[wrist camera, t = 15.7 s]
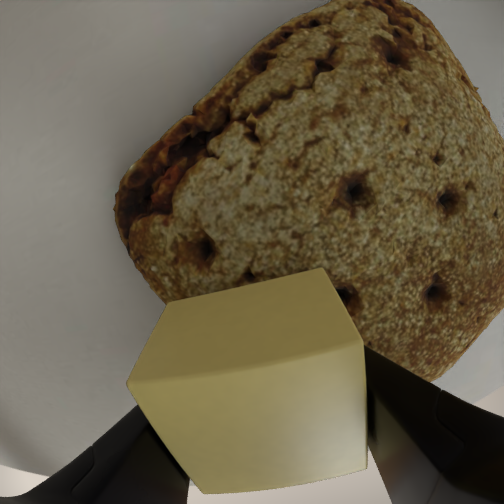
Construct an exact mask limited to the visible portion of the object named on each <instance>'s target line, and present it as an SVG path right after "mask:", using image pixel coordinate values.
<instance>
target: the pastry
mask: <svg viewBox="0 0 504 504" xmlns="http://www.w3.org/2000/svg"><path fill="white" fill-rule="evenodd" d="M478 89H479V88H477V87H474V86H473V84H472V83H471V81H470V79H469V77H468V75H467V74H466V72H465V70H464V69H463V67H462V65H461V63H460V62H459V60H458V59H457V58H456V57H455V55H454V54H453V52H452V51H451V49H450V47H449V46H448V44H447V43H446V41H445V40H444V38H443V37H442V35H441V34H440V33H439V31H438V30H437V29H436V28H435V26H434V25H433V23H432V21H431V20H430V19H428V18H427V17H426V16H425V15H424V14H423V13H422V12H421V11H420V10H418V9H417V8H416V7H415V6H413V5H412V4H409V3H406V2H404V1H401V0H332V1H330V2H329V3H327V4H325V5H323V6H321V7H319V8H315V9H314V10H312V11H311V12H309V13H304V14H301V15H299V16H297V17H295V18H292V19H291V20H290V21H288V22H287V23H285V24H284V25H282V26H280V27H279V28H277V29H276V30H274V31H273V32H272V33H270V34H269V35H267V36H266V37H265V38H263V39H262V40H261V41H259V42H258V43H257V44H256V45H255V46H254V47H253V48H252V49H251V50H250V51H249V52H248V53H247V54H246V55H244V56H243V57H242V58H241V59H240V60H239V61H238V62H237V64H236V65H235V66H234V67H233V68H232V69H231V70H230V71H229V72H228V73H227V75H226V76H225V77H224V78H223V79H221V80H220V81H219V82H218V83H217V84H216V85H215V86H214V87H213V88H212V89H211V91H210V92H209V93H208V94H207V95H205V96H204V97H203V98H202V99H201V100H199V101H198V102H197V103H196V104H195V105H194V106H193V113H192V115H187V116H184V117H183V118H182V119H180V120H179V121H178V122H177V123H176V124H174V125H173V126H172V127H171V128H170V129H169V130H168V131H167V132H166V133H165V134H164V135H163V136H162V137H161V138H160V140H159V141H157V142H156V143H155V144H153V145H152V146H151V147H150V148H149V149H147V150H146V151H145V152H144V154H143V155H142V157H141V158H140V159H139V160H138V161H136V162H135V163H134V164H133V165H131V167H130V168H129V170H128V171H127V172H126V174H125V175H124V177H123V178H122V180H121V181H120V185H119V191H118V192H117V193H116V194H115V199H116V204H115V206H114V208H113V210H114V211H115V222H116V225H117V228H118V231H119V234H120V237H121V240H122V242H123V243H124V245H125V246H126V248H127V251H128V254H129V256H130V258H131V259H132V260H133V262H134V264H135V267H136V268H137V269H138V270H139V271H140V272H141V273H142V275H143V277H144V279H145V280H146V281H147V282H148V283H149V285H150V288H151V289H152V290H153V291H154V292H155V293H156V294H157V295H158V296H159V297H160V299H161V300H162V301H163V302H164V303H165V304H166V305H167V304H168V303H169V302H172V301H177V300H182V299H187V298H191V297H196V296H201V295H205V294H210V293H214V292H219V291H223V290H228V289H232V288H237V287H241V286H245V285H250V284H254V283H258V282H263V281H267V280H271V279H276V278H280V277H284V276H288V275H292V274H297V273H301V272H305V271H309V270H313V269H317V268H323V269H324V270H325V272H326V274H327V276H328V277H329V279H330V281H331V283H332V284H333V286H334V288H335V290H336V292H337V293H338V295H339V297H340V299H341V301H342V302H343V304H344V306H345V308H346V310H347V312H348V313H349V315H350V317H351V319H352V321H353V323H354V324H355V326H356V328H357V330H358V332H359V334H360V336H361V338H362V340H363V344H364V345H365V346H367V347H369V348H371V349H372V350H374V351H376V352H377V353H379V354H381V355H383V356H384V357H386V358H388V359H390V360H391V361H393V362H395V363H397V364H398V365H400V366H402V367H404V368H405V369H407V370H409V371H411V372H412V373H414V374H416V375H418V376H419V377H421V378H423V379H425V380H426V381H428V382H431V381H433V380H436V379H437V378H439V377H441V376H442V375H443V374H444V373H445V372H446V371H447V370H449V369H450V368H451V367H452V366H453V365H454V364H455V363H456V362H457V360H458V359H459V358H460V357H461V356H462V355H463V354H464V353H465V352H466V350H467V349H468V348H469V347H470V346H471V345H472V343H473V342H474V341H475V340H476V339H477V338H478V336H479V335H480V334H481V333H482V332H483V330H484V329H486V328H487V327H488V325H489V324H490V322H491V321H492V320H493V319H494V318H495V317H496V316H497V315H498V314H499V313H500V311H501V310H502V309H503V308H504V140H503V138H502V137H501V136H500V134H499V133H498V130H497V127H496V125H495V124H494V123H493V122H492V119H491V117H490V112H489V111H488V110H487V108H486V107H485V106H484V105H483V104H482V103H481V102H482V99H481V97H480V96H479V94H478V93H477V91H476V90H478Z"/></svg>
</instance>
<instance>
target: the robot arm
mask: <svg viewBox="0 0 504 504" xmlns="http://www.w3.org/2000/svg"><path fill="white" fill-rule="evenodd" d="M364 356H365V371H366V390H367V422H368V446H369V448H370V451H371V453H372V456H373V458H374V460H375V463H376V465H377V467H378V470H379V472H380V475H381V477H382V480H383V482H384V484H385V487H386V489H387V492H388V494H389V497H390V499H391V502H392V504H504V417H502V416H499V415H496V414H493V413H491V412H488V411H486V410H483V409H481V408H479V407H476V406H474V405H472V404H469V403H467V402H465V401H463V400H461V399H460V398H458V397H456V396H454V395H452V394H450V393H448V392H446V391H445V390H441V388H439V387H437V386H435V385H434V384H432V383H430V382H428V381H426V380H425V379H423V378H421V377H419V376H418V375H416V374H414V373H412V372H411V371H409V370H407V369H405V368H404V367H402V366H400V365H398V364H397V363H395V362H393V361H391V360H390V359H388V358H386V357H384V356H383V355H381V354H379V353H377V352H376V351H374V350H372V349H371V348H369V347H367V346H365V345H364ZM189 481H190V477H189V476H188V475H187V474H186V472H185V471H184V470H183V469H182V467H181V466H180V465H179V463H178V462H177V461H176V459H175V458H174V457H173V455H172V454H171V453H170V451H169V450H168V449H167V447H166V446H165V444H164V443H163V441H162V440H161V439H160V437H159V436H158V434H157V433H156V431H155V430H154V428H153V427H152V425H151V424H150V422H149V421H148V419H147V418H146V416H145V415H144V413H143V412H142V410H141V408H140V407H139V405H137V406H135V407H134V408H133V409H132V410H131V411H130V412H129V413H128V414H126V415H125V416H124V417H123V418H122V419H121V420H120V421H119V422H117V423H116V424H115V425H114V426H113V427H112V428H111V429H109V430H108V431H107V432H106V433H105V434H104V435H103V436H101V437H100V438H99V439H98V440H97V441H96V442H95V443H93V445H92V446H90V447H89V448H87V449H86V450H85V451H84V452H83V453H82V454H80V455H79V456H78V457H77V458H76V459H74V460H73V461H72V462H71V463H69V464H68V465H66V466H65V467H64V468H62V469H61V470H60V471H58V472H57V473H55V474H54V475H52V476H51V477H49V478H48V479H47V480H45V481H44V482H42V483H41V484H39V485H38V486H36V487H35V488H33V489H32V490H30V491H28V492H27V493H24V494H22V495H19V496H14V497H0V504H187V497H188V488H189Z"/></svg>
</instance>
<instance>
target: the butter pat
mask: <svg viewBox="0 0 504 504" xmlns="http://www.w3.org/2000/svg"><path fill="white" fill-rule="evenodd" d="M126 385H127V387H128V389H129V390H130V392H131V394H132V396H133V397H134V399H135V400H136V402H137V404H138V405H139V407H140V408H141V410H142V412H143V413H144V415H145V416H146V418H147V419H148V421H149V422H150V424H151V425H152V427H153V428H154V430H155V431H156V433H157V434H158V436H159V437H160V439H161V440H162V441H163V443H164V444H165V446H166V447H167V449H168V450H169V451H170V453H171V454H172V455H173V457H174V458H175V459H176V461H177V462H178V463H179V465H180V466H181V467H182V469H183V470H184V471H185V472H186V474H187V475H188V476H189V477H190V479H191V480H192V481H193V482H194V484H195V485H196V486H197V487H198V488H199V490H200V491H201V492H202V493H203V494H221V493H239V492H250V491H260V490H268V489H276V488H284V487H290V486H295V485H302V484H307V483H312V482H317V481H322V480H327V479H331V478H336V477H340V476H344V475H347V474H352V473H355V472H359V471H362V470H365V469H367V461H368V454H367V453H368V422H367V390H366V371H365V356H364V344H363V340H362V338H361V336H360V334H359V332H358V330H357V328H356V326H355V324H354V323H353V321H352V319H351V317H350V315H349V313H348V312H347V310H346V308H345V306H344V304H343V302H342V301H341V299H340V297H339V295H338V293H337V292H336V290H335V288H334V286H333V284H332V283H331V281H330V279H329V277H328V276H327V274H326V272H325V270H324V269H323V268H317V269H313V270H309V271H305V272H301V273H297V274H292V275H288V276H284V277H280V278H276V279H271V280H267V281H263V282H258V283H254V284H250V285H245V286H241V287H237V288H232V289H228V290H223V291H219V292H214V293H210V294H205V295H201V296H196V297H191V298H187V299H182V300H177V301H172V302H169V303H168V304H167V306H166V307H165V309H164V311H163V313H162V315H161V317H160V318H159V320H158V322H157V324H156V326H155V328H154V330H153V331H152V333H151V335H150V337H149V339H148V341H147V343H146V345H145V347H144V349H143V350H142V352H141V354H140V356H139V358H138V360H137V362H136V364H135V366H134V368H133V370H132V372H131V374H130V376H129V378H128V380H127V382H126Z"/></svg>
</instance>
